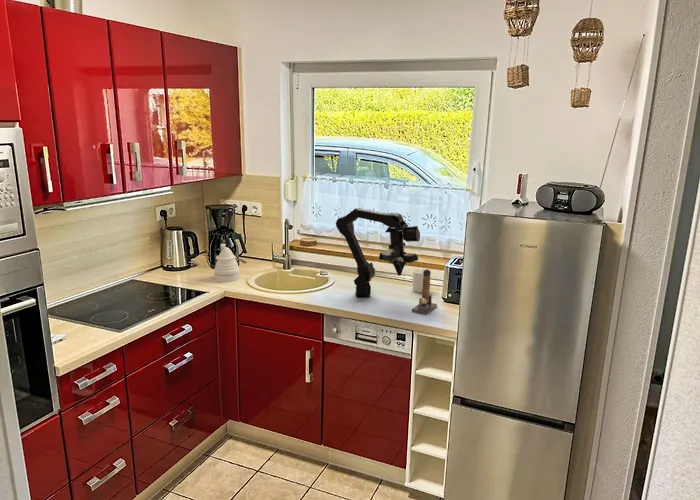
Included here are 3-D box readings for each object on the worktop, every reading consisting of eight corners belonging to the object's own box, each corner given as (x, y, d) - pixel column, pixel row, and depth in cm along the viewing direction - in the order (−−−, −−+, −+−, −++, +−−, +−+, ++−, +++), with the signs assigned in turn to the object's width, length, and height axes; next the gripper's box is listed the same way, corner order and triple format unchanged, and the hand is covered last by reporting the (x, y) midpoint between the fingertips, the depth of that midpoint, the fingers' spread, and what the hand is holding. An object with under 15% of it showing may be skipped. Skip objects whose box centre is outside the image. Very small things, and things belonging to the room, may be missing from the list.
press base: (411, 311, 228) (412, 298, 227) (422, 303, 239) (423, 290, 237) (426, 314, 225) (427, 300, 223) (437, 306, 235) (437, 293, 234)
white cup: (427, 293, 253) (428, 273, 250) (411, 292, 254) (411, 272, 252) (428, 288, 260) (429, 269, 258) (412, 287, 262) (413, 268, 259)
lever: (420, 303, 232) (421, 270, 228) (423, 300, 236) (425, 267, 232) (427, 304, 231) (428, 271, 227) (430, 302, 234) (432, 269, 230)
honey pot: (209, 279, 269) (207, 245, 265) (227, 273, 280) (225, 241, 276) (227, 283, 263) (225, 249, 259) (245, 277, 273) (244, 244, 269)
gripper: (369, 243, 237) (372, 277, 240) (401, 246, 224) (404, 281, 227) (385, 239, 244) (388, 271, 247) (417, 241, 231) (420, 275, 234)
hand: (399, 275), depth 239 cm, fingers closed
